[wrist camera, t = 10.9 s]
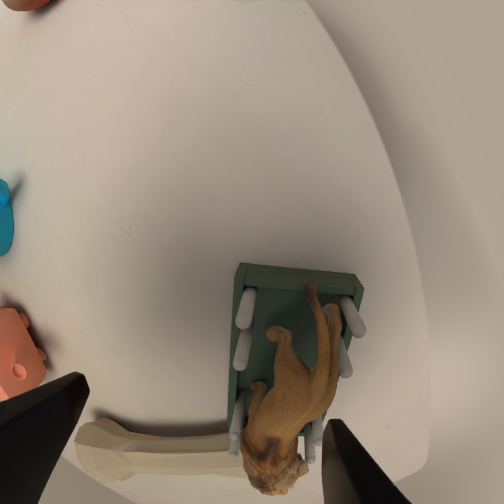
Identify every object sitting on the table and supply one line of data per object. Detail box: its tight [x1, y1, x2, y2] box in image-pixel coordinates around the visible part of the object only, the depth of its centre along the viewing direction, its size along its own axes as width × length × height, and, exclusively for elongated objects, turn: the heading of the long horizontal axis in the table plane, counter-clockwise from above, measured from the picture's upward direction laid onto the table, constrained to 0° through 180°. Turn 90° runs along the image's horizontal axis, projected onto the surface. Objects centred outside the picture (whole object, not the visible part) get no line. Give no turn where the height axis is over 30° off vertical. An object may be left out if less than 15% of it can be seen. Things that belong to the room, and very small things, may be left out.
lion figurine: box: [240, 277, 342, 496], centre depth 15 cm, size 15×5×9 cm, turn 176°
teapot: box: [0, 308, 46, 400], centre depth 20 cm, size 12×12×10 cm
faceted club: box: [74, 417, 248, 483], centre depth 22 cm, size 9×8×25 cm
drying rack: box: [227, 263, 366, 464], centre depth 18 cm, size 8×15×6 cm, turn 176°
